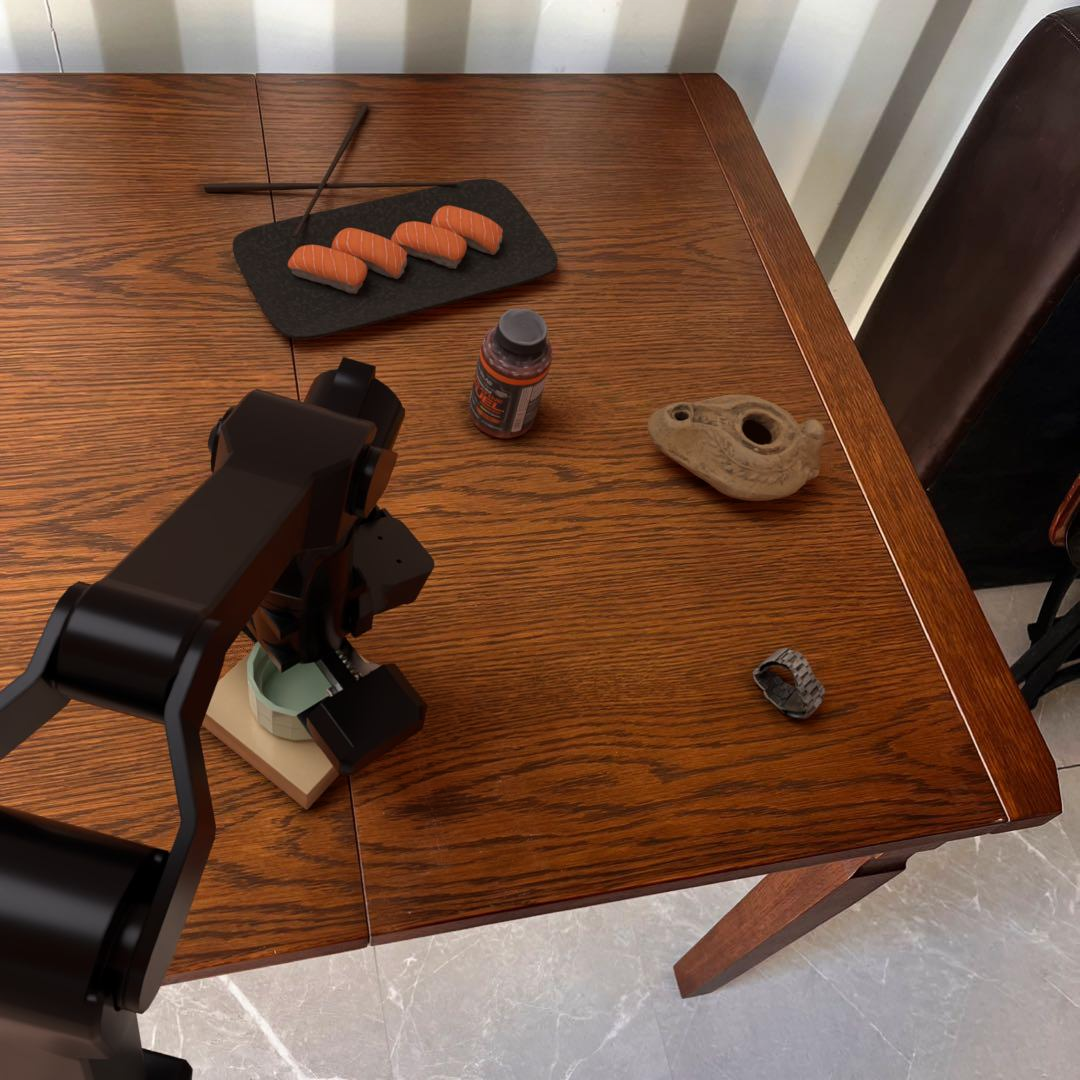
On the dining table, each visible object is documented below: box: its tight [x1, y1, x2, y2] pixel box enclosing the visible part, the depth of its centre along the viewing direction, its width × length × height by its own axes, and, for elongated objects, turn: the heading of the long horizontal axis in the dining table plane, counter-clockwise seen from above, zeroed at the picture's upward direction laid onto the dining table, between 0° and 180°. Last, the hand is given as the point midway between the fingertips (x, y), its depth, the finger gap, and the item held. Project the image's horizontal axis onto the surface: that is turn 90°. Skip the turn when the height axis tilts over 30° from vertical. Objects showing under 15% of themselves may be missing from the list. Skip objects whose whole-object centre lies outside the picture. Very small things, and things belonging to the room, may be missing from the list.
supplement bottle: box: [468, 307, 553, 439], centre depth 91 cm, size 6×6×11 cm
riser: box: [201, 649, 371, 811], centre depth 76 cm, size 10×10×3 cm
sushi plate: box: [203, 103, 559, 341], centre depth 105 cm, size 29×30×4 cm
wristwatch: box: [752, 647, 826, 720], centre depth 84 cm, size 3×5×5 cm
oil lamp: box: [646, 394, 826, 502], centre depth 93 cm, size 11×15×8 cm
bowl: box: [247, 642, 353, 740], centre depth 73 cm, size 7×7×4 cm
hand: (301, 687), depth 73 cm, fingers closed on bowl, 7 cm apart
